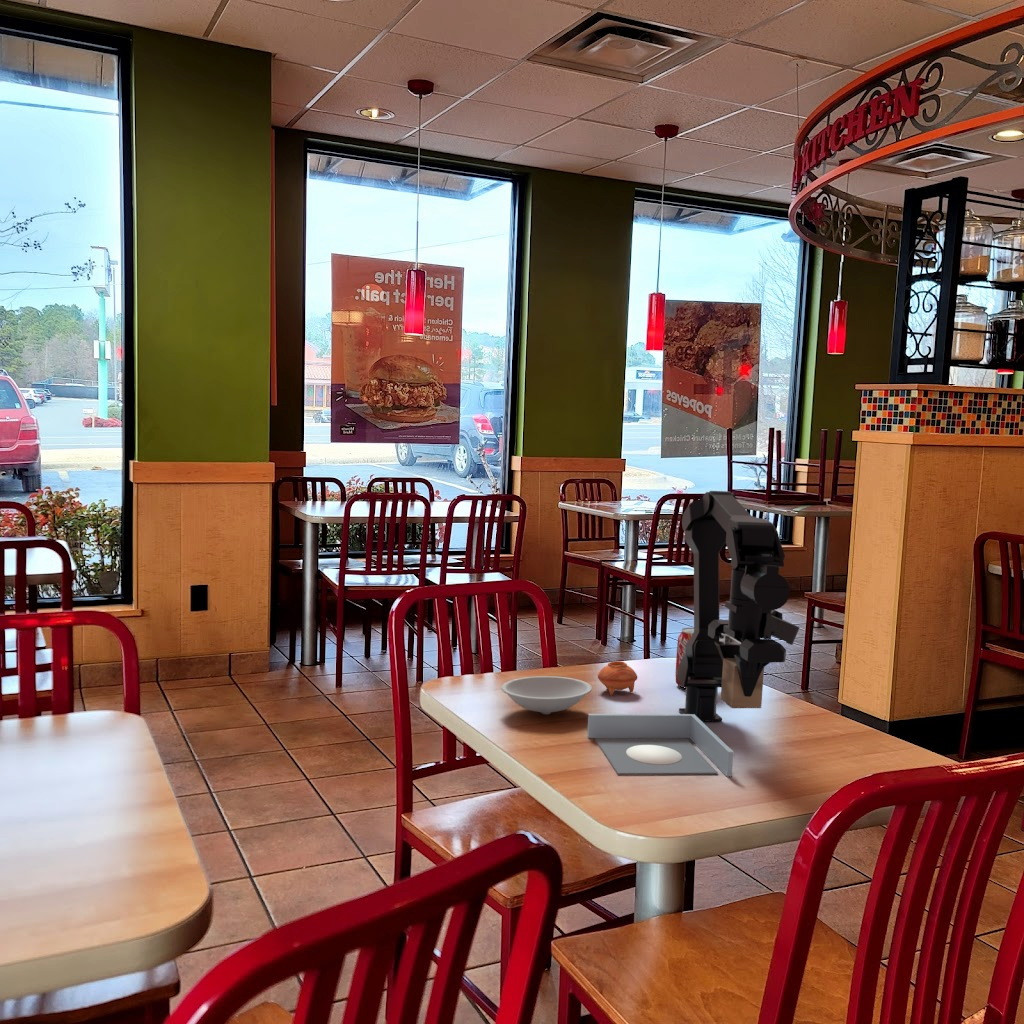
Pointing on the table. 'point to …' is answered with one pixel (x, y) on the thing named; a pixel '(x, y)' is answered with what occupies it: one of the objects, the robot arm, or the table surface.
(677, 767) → the mat
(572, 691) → the dish
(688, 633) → the soda can
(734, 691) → the walnut block
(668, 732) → the low wall
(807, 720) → the table surface
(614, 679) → the pot
